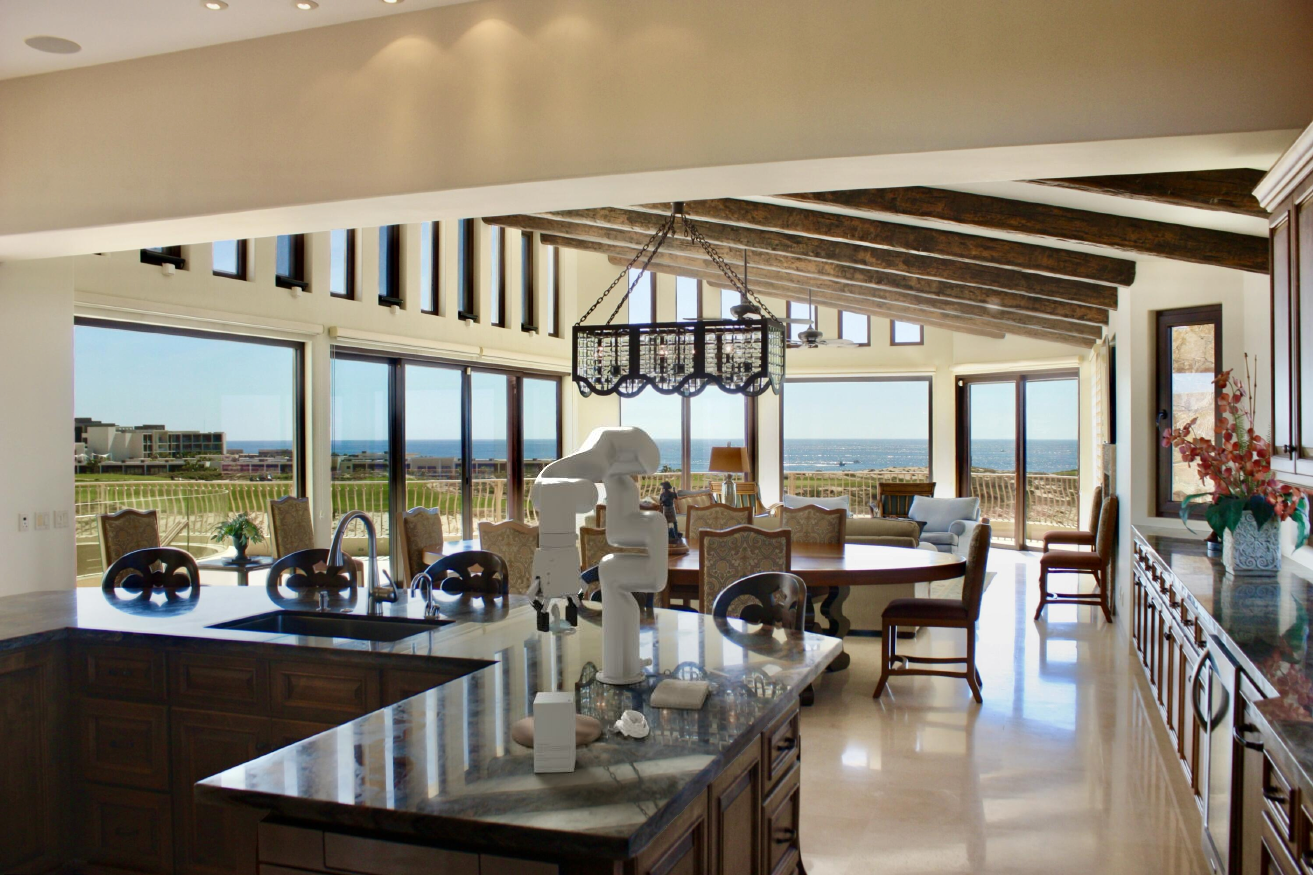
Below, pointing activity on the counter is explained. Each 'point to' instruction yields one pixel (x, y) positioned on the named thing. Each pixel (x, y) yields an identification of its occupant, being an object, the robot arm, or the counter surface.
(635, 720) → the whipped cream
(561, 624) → the pacifier
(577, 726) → the walnut board
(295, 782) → the counter surface
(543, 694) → the supplement box
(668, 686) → the washcloth
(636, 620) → the robot arm
